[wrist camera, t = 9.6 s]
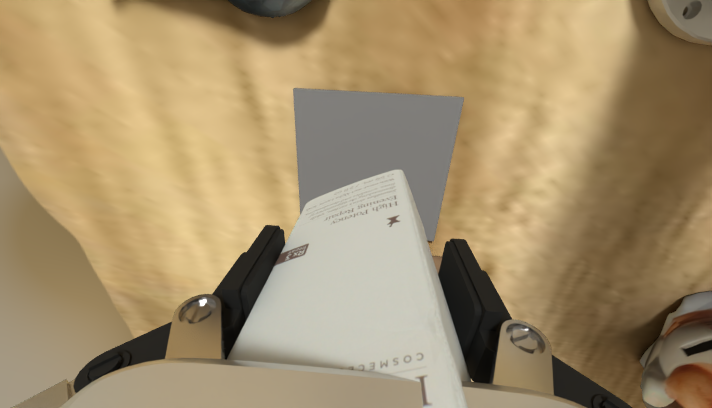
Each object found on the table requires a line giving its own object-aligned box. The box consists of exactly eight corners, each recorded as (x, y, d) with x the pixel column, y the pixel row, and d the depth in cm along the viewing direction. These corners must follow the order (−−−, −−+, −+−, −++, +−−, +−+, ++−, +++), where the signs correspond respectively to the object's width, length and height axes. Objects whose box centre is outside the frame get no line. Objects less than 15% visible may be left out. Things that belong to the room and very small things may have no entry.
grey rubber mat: (462, 97, 19) (464, 97, 19) (432, 238, 25) (433, 241, 24) (295, 88, 20) (293, 88, 19) (302, 227, 25) (301, 230, 25)
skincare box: (400, 163, 15) (489, 420, 4) (425, 230, 16) (538, 547, 5) (301, 202, 16) (141, 478, 5) (333, 260, 18) (268, 565, 7)
